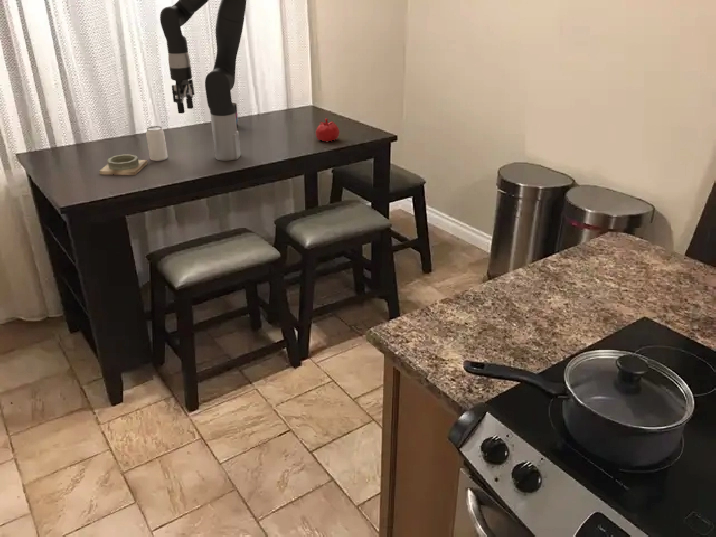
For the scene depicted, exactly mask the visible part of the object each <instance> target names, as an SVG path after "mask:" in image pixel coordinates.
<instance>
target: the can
mask: <svg viewBox="0 0 716 537" xmlns="http://www.w3.org/2000/svg"><path fill="white" fill-rule="evenodd" d="M145 134H146V142H147V148H148V153H149V154H148V155H149V158H150V160H151V161H153V162H161V161H166V160H167V159H168V151H167V150H168V149H167V144H166V139H165V138H166V137H165V131H164V130H163V127H162V126H159V125H152V126H148V127H146V132H145Z"/></svg>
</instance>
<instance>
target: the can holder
mask: <svg viewBox="0 0 716 537" xmlns="http://www.w3.org/2000/svg"><path fill="white" fill-rule="evenodd" d="M106 161H107V164H106V165H105V166H104V167H102V168H101V169H99V175H113V174H114V175H118V176H121V175H123V176H125V175H128V176H136V175H137V174H138V173H139V172H140V171H141V170H143V168H144V167H146V165H148V163H149V162H148V160H147V159H139V158H138V156H137V155H135V154H127V153H126V154H118V155H113V156H111V157H109V158H108V159H107V160H106Z"/></svg>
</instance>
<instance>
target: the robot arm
mask: <svg viewBox="0 0 716 537" xmlns="http://www.w3.org/2000/svg"><path fill="white" fill-rule="evenodd" d="M209 1H210V0H178V1H176V2H175V3H174V4H173V5H170V6H166V7H164V8H162V10H160V11H161V12H160V14H159V17H160V18H159V20H160V21H159V22H160V26H161V29H162V32H163V34H164V35H163V36H164V38H165V40H166V47H167V48H166V49H167V53H168V54H167V55H168V56H167V58H168V66H169V72H170V73H169V74H170V79H171V80H172V81H175V84H172V85H171V94H172V100H173V102H174V103H176V106H177V113H178V114H184V113H185V111H186V110H185V106H184V105H185V104H184V101H186V107H187V109H189V110H190V109H194V104H193V103H194V102H193V98H194V96H195V88H194V87H195V86H194V81H193V74H192V66H191V65H192V64H191V59H190V54H189V48H188V42H187V37H186V36H185V35H184V34H183V33H182V32H183V31H182V27H183V26H184V25H185V24H186V23H187V22H189V20H190V19H191V18H192V17H193V15H194V14H195V13H196V12H198V10H200V9H201V8H202V7H203V6H205V4H206V3H208V2H209ZM246 7H247V0H220V4H219V6H218V9H217V16H216V22H215V41H216V56H215V61H214V66H213V69H212V70H211V71H210V72H208V73H207V75H206V76H205V78H204V88H205V89H204V90H205V96H206V102H207V107H208V108H209V112H210V114H209V115H210V120H211V121H210V122H211V131H212V138H213V140H212V141H213V148H214V156H215V159H216V160H218V161H224V162H226V161H227V162H228V161H233V160H238V159H239V158H240V156H241V155H242V154H241V144H240V143H241V142H240V135H239V134H240V133H239V131H238V128H237V125H236V115H235V106H234V104H232V103H233V100H232V94H231V93H232V92H231V90H232V89H233V88H234V87H235V86H234V85H235V81H236V65H237V57H238V51H239V47H240V44H241V37H242V35H243V34H242V33H243V30H244V28H243V27H244V22H245V15H246ZM184 99H185V100H184Z"/></svg>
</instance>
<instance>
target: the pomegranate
mask: <svg viewBox="0 0 716 537" xmlns="http://www.w3.org/2000/svg"><path fill="white" fill-rule="evenodd" d="M328 120H329V119H328V118H324V121H325V122H324V121H320V122H318V123H319V125H318V126H317V127H316V129H315V137H316V139H317V140H318V141H319V140H322V141H331V142H333V141H332V140H334V141H336V140H337V139H338V138H339V136H340V129H339V127H338V126H337V124H336V123H335V122H334V121H330V122H328ZM335 139H336V140H335Z"/></svg>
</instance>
